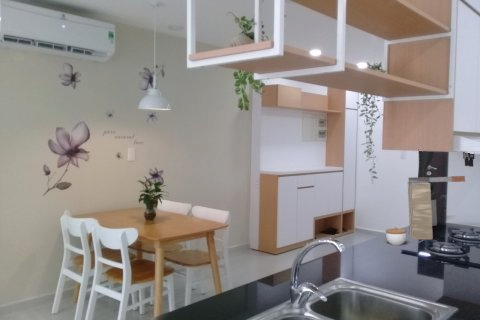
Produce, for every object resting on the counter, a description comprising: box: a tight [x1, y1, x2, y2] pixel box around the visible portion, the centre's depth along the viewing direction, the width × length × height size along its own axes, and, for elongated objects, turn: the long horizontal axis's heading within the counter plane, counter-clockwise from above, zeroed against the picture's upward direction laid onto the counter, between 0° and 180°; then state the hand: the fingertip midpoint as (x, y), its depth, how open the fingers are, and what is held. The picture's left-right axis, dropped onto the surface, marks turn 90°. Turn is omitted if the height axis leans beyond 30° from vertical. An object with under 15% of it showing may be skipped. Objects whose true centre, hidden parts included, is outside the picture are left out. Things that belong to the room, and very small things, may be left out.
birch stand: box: [407, 176, 434, 240], centre depth 250 cm, size 15×10×35 cm, turn 166°
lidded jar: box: [385, 226, 407, 246], centre depth 234 cm, size 11×11×9 cm
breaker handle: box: [429, 175, 466, 183], centre depth 246 cm, size 4×18×3 cm, turn 76°
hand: (469, 166), depth 252 cm, fingers open, 8 cm apart
